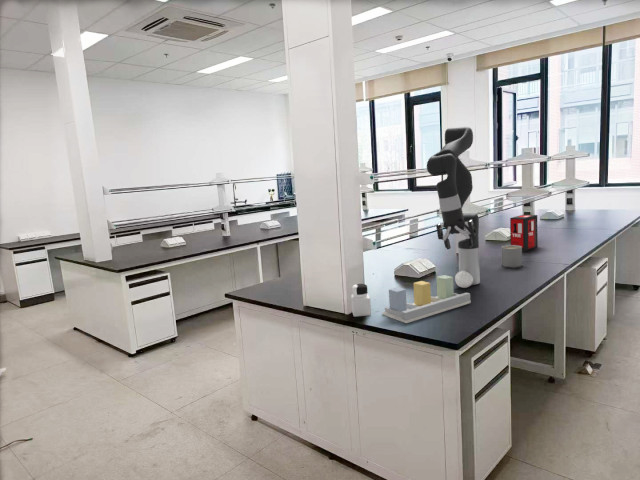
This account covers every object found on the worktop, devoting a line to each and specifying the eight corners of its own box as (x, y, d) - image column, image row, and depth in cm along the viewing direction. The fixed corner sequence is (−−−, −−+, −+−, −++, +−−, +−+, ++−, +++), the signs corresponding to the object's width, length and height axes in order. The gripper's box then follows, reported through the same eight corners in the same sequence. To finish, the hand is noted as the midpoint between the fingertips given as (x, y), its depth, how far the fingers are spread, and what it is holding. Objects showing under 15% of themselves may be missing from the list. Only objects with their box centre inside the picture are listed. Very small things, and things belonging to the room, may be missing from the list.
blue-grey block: (389, 311, 180) (388, 289, 179) (398, 308, 183) (397, 287, 181) (398, 314, 176) (396, 291, 175) (406, 311, 178) (405, 289, 177)
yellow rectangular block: (414, 304, 187) (413, 282, 185) (422, 301, 189) (421, 280, 188) (423, 306, 182) (422, 285, 181) (431, 304, 185) (430, 282, 183)
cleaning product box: (524, 251, 274) (524, 218, 271) (510, 249, 281) (510, 218, 278) (537, 246, 285) (537, 215, 282) (523, 245, 292) (523, 214, 288)
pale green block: (437, 297, 193) (436, 276, 192) (444, 295, 195) (444, 274, 194) (446, 299, 189) (445, 278, 188) (453, 297, 191) (453, 276, 190)
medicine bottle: (369, 309, 188) (367, 281, 186) (371, 315, 181) (369, 286, 179) (351, 311, 188) (349, 283, 186) (353, 316, 181) (351, 287, 179)
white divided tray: (382, 314, 181) (381, 304, 180) (445, 296, 198) (444, 287, 198) (406, 323, 169) (405, 313, 169) (470, 302, 187) (470, 293, 186)
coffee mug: (516, 268, 236) (516, 249, 235) (498, 266, 244) (498, 247, 242) (528, 263, 245) (528, 244, 243) (510, 261, 252) (510, 243, 251)
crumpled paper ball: (460, 290, 205) (460, 274, 204) (451, 286, 212) (451, 270, 211) (476, 288, 207) (475, 271, 206) (466, 284, 214) (466, 268, 213)
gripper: (472, 202, 169) (481, 243, 172) (437, 207, 178) (445, 246, 181) (465, 208, 163) (474, 250, 166) (429, 212, 172) (438, 252, 175)
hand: (459, 248), depth 174 cm, fingers open, 8 cm apart
